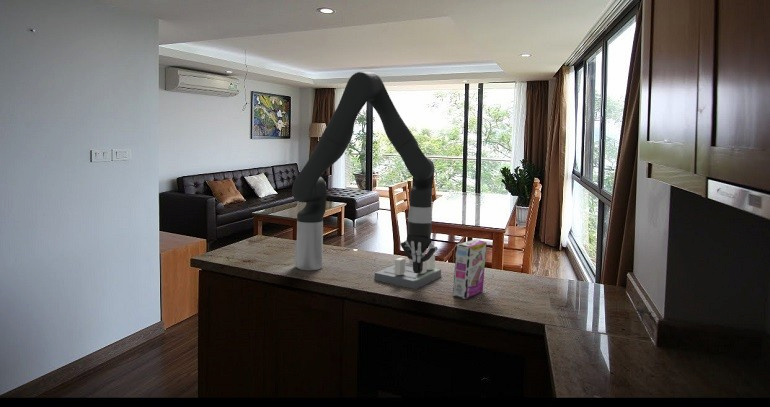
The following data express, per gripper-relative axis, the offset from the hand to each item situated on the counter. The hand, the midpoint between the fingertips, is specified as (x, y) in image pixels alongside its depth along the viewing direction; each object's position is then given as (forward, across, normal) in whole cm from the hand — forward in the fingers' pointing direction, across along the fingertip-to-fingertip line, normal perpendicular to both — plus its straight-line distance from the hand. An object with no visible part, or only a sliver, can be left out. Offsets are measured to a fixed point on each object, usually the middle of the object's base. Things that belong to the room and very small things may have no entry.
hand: (417, 272), depth 152 cm
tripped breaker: (+2, -7, 0) cm, 7 cm away
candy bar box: (+5, +17, +3) cm, 18 cm away
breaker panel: (+4, -7, +6) cm, 10 cm away
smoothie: (+5, -14, +23) cm, 27 cm away
